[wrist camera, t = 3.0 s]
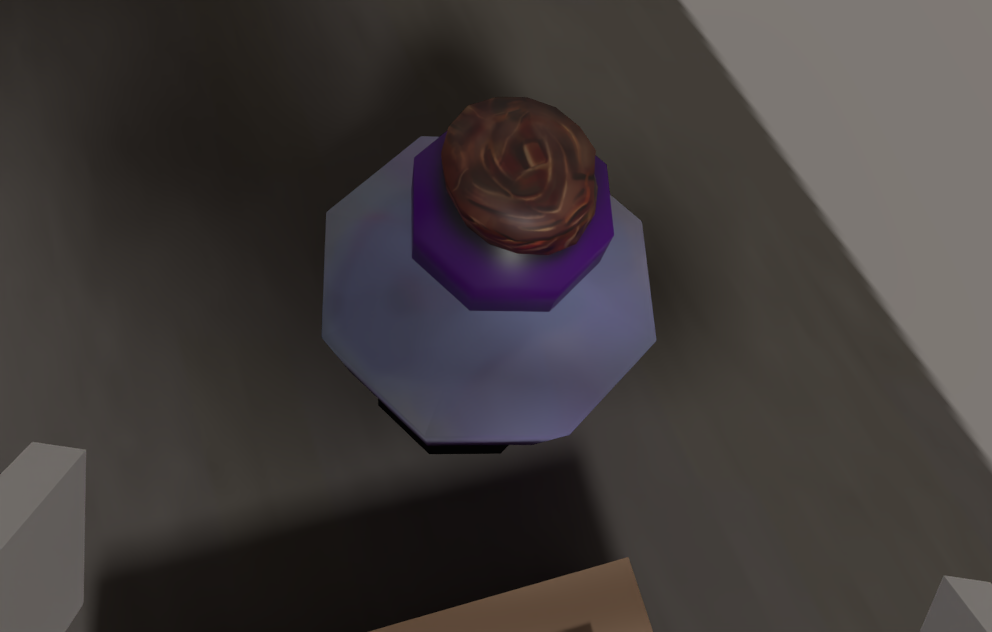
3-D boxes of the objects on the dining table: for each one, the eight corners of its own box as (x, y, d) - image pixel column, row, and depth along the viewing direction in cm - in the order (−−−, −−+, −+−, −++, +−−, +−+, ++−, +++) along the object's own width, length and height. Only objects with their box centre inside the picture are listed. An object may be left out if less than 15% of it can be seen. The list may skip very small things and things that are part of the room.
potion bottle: (644, 443, 28) (824, 274, 17) (386, 558, 25) (402, 447, 14) (525, 217, 30) (615, -55, 20) (282, 301, 28) (229, 44, 17)
